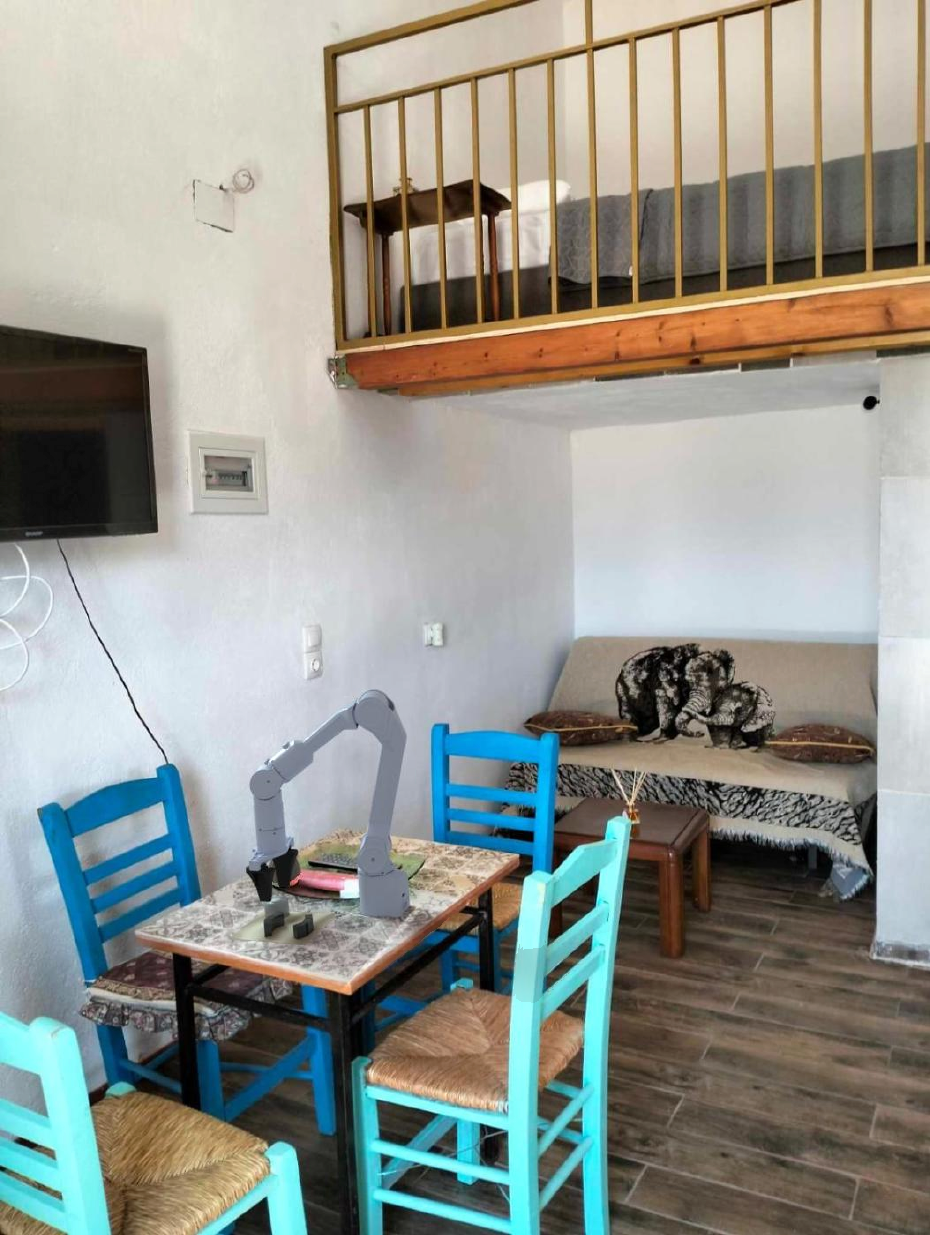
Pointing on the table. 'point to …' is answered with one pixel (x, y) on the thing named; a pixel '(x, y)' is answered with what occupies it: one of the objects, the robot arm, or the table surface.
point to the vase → (295, 871)
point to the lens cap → (277, 906)
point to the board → (283, 928)
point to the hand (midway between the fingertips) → (275, 893)
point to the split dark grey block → (278, 921)
